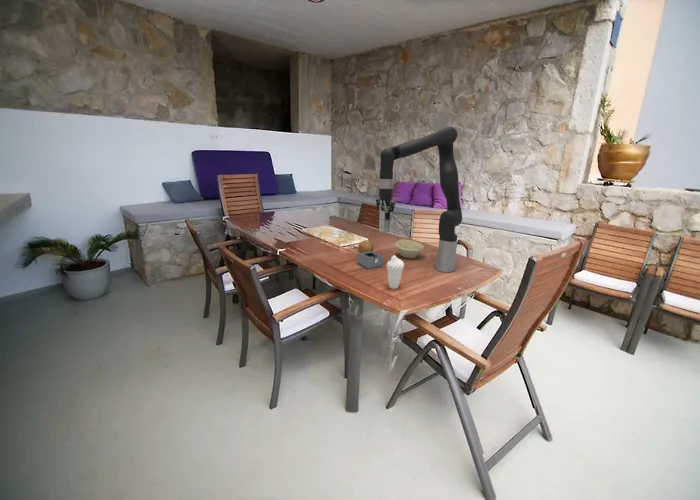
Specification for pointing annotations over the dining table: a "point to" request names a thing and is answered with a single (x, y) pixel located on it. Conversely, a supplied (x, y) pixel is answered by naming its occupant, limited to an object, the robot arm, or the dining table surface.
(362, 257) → the stand
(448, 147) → the robot arm
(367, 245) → the onion
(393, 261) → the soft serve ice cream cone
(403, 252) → the bowl
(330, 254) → the dining table surface
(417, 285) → the dining table surface
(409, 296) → the dining table surface
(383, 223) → the translucent grey cylinder
